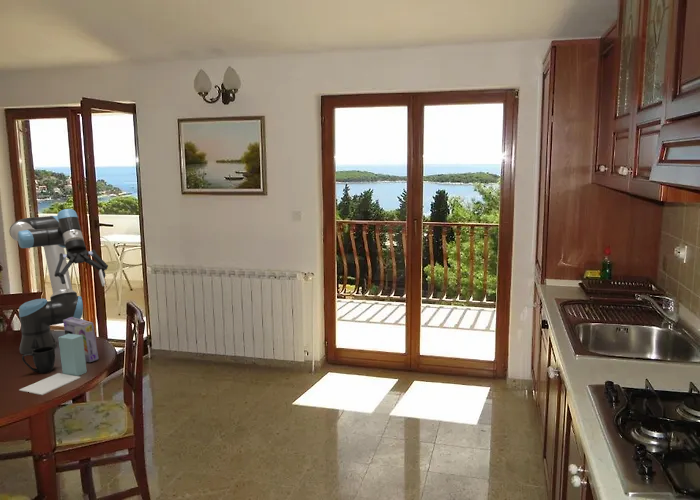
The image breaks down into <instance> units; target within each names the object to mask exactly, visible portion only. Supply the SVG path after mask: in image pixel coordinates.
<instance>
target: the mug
mask: <svg viewBox="0 0 700 500" xmlns="http://www.w3.org/2000/svg"><path fill="white" fill-rule="evenodd" d="M26 356H28V357H29V356H32V361H33V364H34V367H35V368H34V367H32V366H30V364H29V363H28V362H27V361H26V359H25V357H26ZM21 359H22V360H21V361H23V363H24V364H25V365H26V366H27V367H28V368H29V369H30V370H31V371H32V372H33V373H38V374H47V373H51V372H53V371H54V368H55V361H56V352H55V349H54V347H51V346H47V347H40V348H37V349H34V350H33V351H32V354H25V355H24V354H22V356H21Z"/></svg>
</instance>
